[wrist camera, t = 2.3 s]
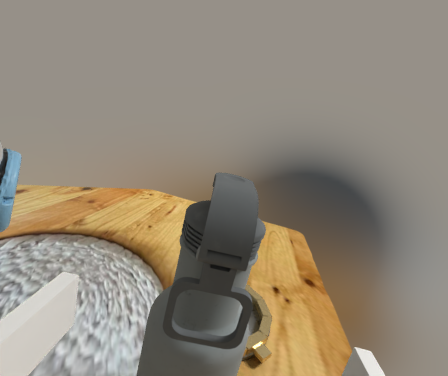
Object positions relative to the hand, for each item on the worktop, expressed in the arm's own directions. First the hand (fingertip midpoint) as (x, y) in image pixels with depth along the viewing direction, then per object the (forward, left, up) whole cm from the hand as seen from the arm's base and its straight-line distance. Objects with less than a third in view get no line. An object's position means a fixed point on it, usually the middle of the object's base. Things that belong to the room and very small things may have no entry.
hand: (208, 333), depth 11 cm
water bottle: (-7, +7, -23) cm, 25 cm away
